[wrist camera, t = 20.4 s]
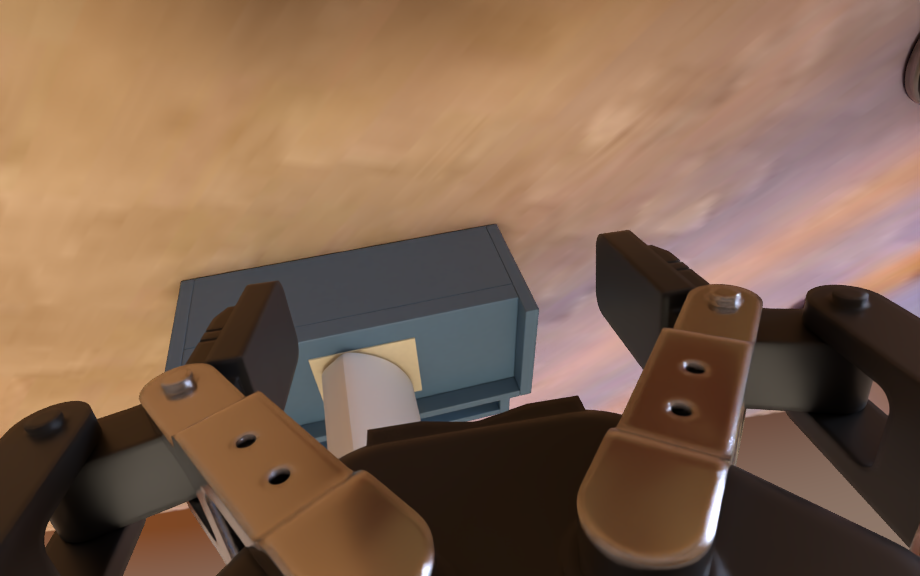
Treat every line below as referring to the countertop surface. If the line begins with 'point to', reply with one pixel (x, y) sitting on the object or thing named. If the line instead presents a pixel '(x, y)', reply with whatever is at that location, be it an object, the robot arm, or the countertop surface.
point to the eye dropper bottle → (364, 400)
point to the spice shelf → (394, 321)
